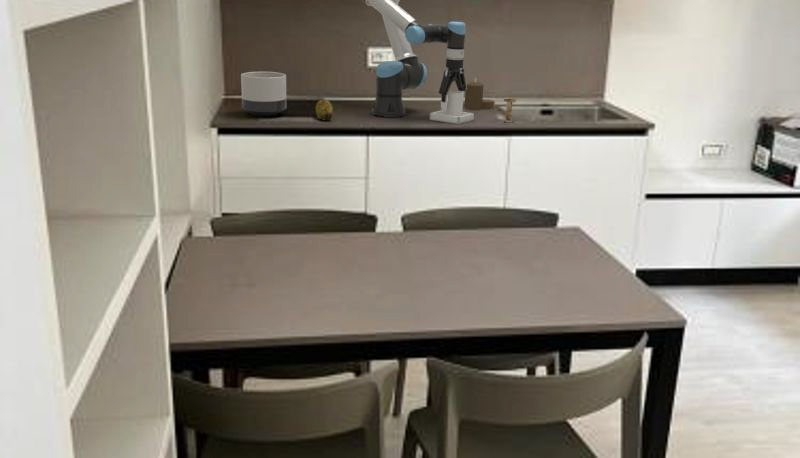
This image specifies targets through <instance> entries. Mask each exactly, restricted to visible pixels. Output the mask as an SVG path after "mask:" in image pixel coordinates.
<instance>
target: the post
mask: <svg viewBox="0 0 800 458" xmlns="http://www.w3.org/2000/svg"><path fill="white" fill-rule="evenodd" d="M503 102H506V107H505V108H506V110H505V111H506V112H505V118H504V119H503V122H504V121H513V122H514V120H513V119H512V112H513V111H512V110H513V103H517V99H516V98H512V97H504V98H503Z"/></svg>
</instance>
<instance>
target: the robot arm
mask: <svg viewBox="0 0 800 458" xmlns="http://www.w3.org/2000/svg"><path fill="white" fill-rule="evenodd" d="M361 1H362V2H363V3H364V4H365V5H366V6H368V7H372V8H373V9H375V10H376V11H377V12H378V13H380V14H381V16H382V21H383V23H384V27H385V30H386V33H387V36H388V40H389V43H390V44H389V45H390V46H391V50H392V54H393V57H394V60H391V61H389V60H388V61H382V62H380V63H378V64H377V67H376V72H375V73H376V74H375V76H376V78H375V79H376V80H375V81H376V82H375V83H376V85H375V87H376V88H375V100H374V102H373V104H372V105H373V106H372V108H371V115H372V114H373V115H372V116H374V115H378V116H377V117H379V116H387V117H386V118H401V117H400V116H402V117H404V115H405V116H406V109H405V105H404V102H403V97H402V96H403V90H404V91H406V90H414V89H417V88H418V89H419V88H421V87H422V86H423V85H424V84H425V83H426V80H427V78H428V71H427V66H426V65H425V64H424V63H422V62H420V60H419V58H418V55H416V54H414V52H413V49H412V45H420V44H421V45H422V44H434V43H435V44H436V43H440V44H446V54H445V55H446V59H445V67H446V68H447V69H448V70H443V77H442V80H441V83H440V86H439V90H438V94H439V95H441V99H440V110H442V109H444V110H447V109H448V94H449V91H450V89H451V85H452V83H455V84H456V87H457V90H456V91H462V92H465V90H467V84H466V77H465V68H464V56H465V43H466V42H465V41H466V34H467V32H466V30H467V29H466V22H463V21H450V22H448V25H443V24H437V23H429V24H426V25H424V24H422V23H421V22H419V21H418V20H417V19H415V18H414V17H413V16H412V15H411V14H409V13H408V12H407V11H406V10H404V8H402V7H401V6H399V3H400V0H361Z"/></svg>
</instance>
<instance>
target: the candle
mask: <svg viewBox="0 0 800 458" xmlns="http://www.w3.org/2000/svg"><path fill="white" fill-rule="evenodd" d="M483 97H484V84H483V83H482V82H481V81H478V80H477V77H475V78H474V81H473V80H472V81H470V82H468V83H467V84H466V90H465V91H464V107H465V106H466V107H465V109H466V110H469V111H481V110H492V109H491V108H493V109H494V104H495V101H494V100H492V99H487V98H485V99H484V98H483ZM480 109H481V110H480Z"/></svg>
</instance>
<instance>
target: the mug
mask: <svg viewBox="0 0 800 458" xmlns="http://www.w3.org/2000/svg"><path fill="white" fill-rule="evenodd" d="M447 95H448V102H447V110H444V109H441V110H443V112H447V113H448V115H449V116H456V117H460V116H462V112H463V111H464V109H463V108H464V99H465V91H463V92H462V91H457V90H448V93H447Z"/></svg>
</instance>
